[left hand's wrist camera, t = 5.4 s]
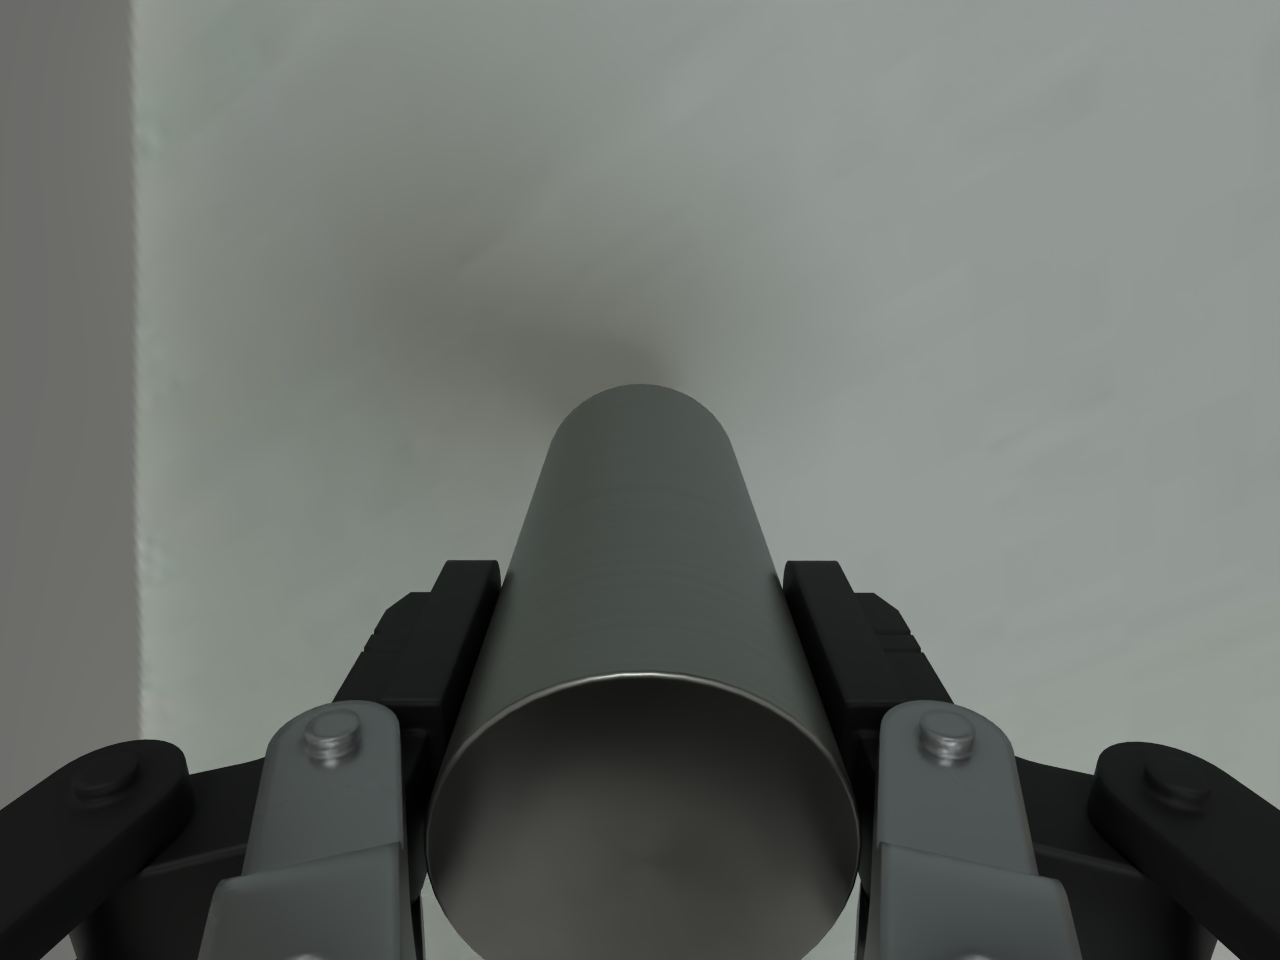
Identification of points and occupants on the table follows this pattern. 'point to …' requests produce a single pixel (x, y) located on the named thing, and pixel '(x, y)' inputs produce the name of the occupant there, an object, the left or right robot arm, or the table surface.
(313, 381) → the table surface
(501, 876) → the can
